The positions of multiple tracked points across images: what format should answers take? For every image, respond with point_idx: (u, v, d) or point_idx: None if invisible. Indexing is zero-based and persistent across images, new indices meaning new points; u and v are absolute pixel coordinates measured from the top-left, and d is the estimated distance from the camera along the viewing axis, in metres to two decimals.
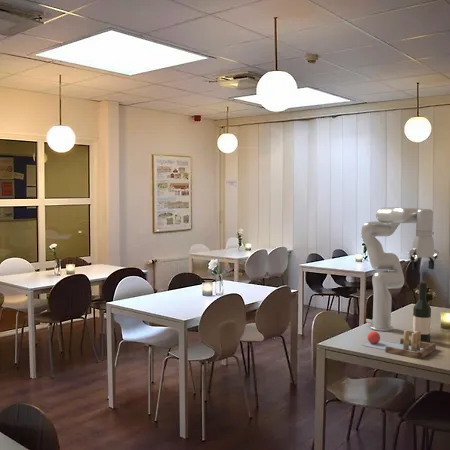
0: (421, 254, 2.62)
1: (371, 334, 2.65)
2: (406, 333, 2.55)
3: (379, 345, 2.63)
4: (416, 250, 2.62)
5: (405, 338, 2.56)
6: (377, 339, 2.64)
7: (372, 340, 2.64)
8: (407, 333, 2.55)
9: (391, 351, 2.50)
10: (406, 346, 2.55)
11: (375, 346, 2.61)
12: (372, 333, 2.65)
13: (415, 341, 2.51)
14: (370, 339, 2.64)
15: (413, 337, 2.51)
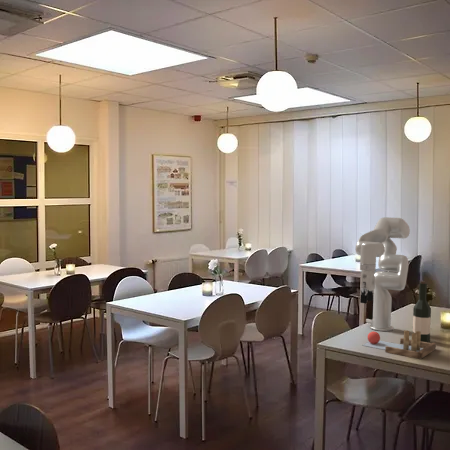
0: None
1: (371, 334, 2.65)
2: (406, 333, 2.55)
3: (379, 345, 2.63)
4: None
5: (405, 338, 2.56)
6: (377, 339, 2.64)
7: (372, 340, 2.64)
8: (407, 333, 2.55)
9: (391, 351, 2.50)
10: (406, 346, 2.55)
11: (375, 346, 2.61)
12: (372, 333, 2.65)
13: (415, 341, 2.51)
14: (370, 339, 2.64)
15: (413, 337, 2.51)
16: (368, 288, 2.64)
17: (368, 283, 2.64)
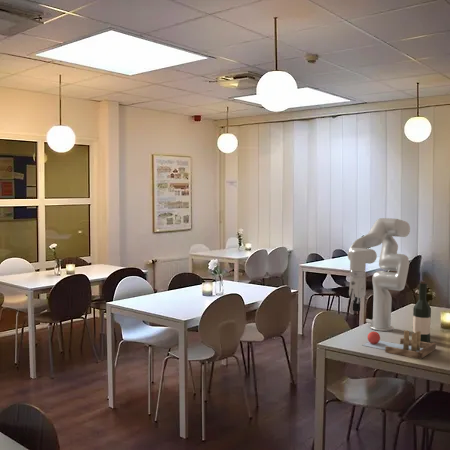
0: None
1: (371, 334, 2.65)
2: (406, 333, 2.55)
3: (379, 345, 2.63)
4: None
5: (405, 338, 2.56)
6: (377, 339, 2.64)
7: (372, 340, 2.64)
8: (407, 333, 2.55)
9: (391, 351, 2.50)
10: (406, 346, 2.55)
11: (375, 346, 2.61)
12: (372, 333, 2.65)
13: (415, 341, 2.51)
14: (370, 339, 2.64)
15: (413, 337, 2.51)
16: (356, 295, 2.66)
17: (356, 290, 2.66)
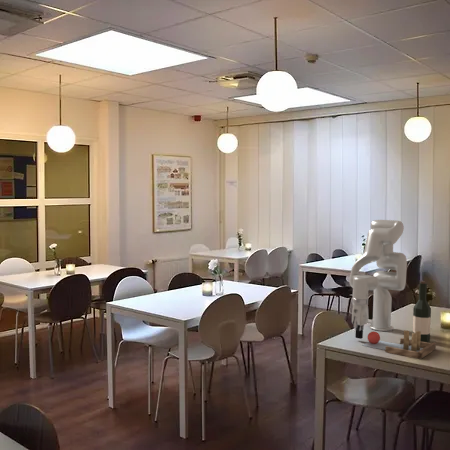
0: None
1: (371, 334, 2.65)
2: (406, 333, 2.55)
3: (379, 345, 2.63)
4: None
5: (405, 338, 2.56)
6: (377, 339, 2.64)
7: (372, 340, 2.64)
8: (407, 333, 2.55)
9: (391, 351, 2.50)
10: (406, 346, 2.55)
11: (375, 346, 2.61)
12: (372, 333, 2.65)
13: (415, 341, 2.51)
14: (370, 339, 2.64)
15: (413, 337, 2.51)
16: (359, 323, 2.65)
17: (359, 318, 2.65)
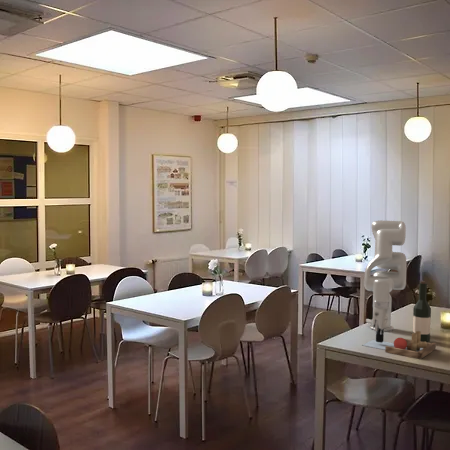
0: None
1: (394, 346, 2.56)
2: (423, 345, 2.51)
3: (379, 345, 2.63)
4: None
5: (418, 345, 2.52)
6: (397, 341, 2.54)
7: (397, 346, 2.53)
8: (423, 346, 2.51)
9: (391, 351, 2.50)
10: None
11: (375, 346, 2.61)
12: (394, 345, 2.56)
13: (415, 341, 2.51)
14: None
15: (413, 337, 2.51)
16: (380, 326, 2.59)
17: (380, 321, 2.59)
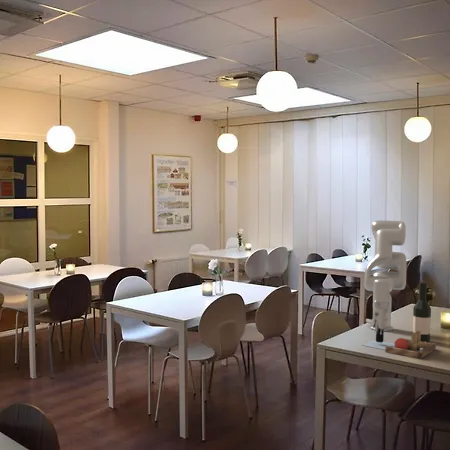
0: None
1: (395, 346, 2.55)
2: (423, 345, 2.51)
3: (379, 345, 2.63)
4: None
5: (418, 345, 2.52)
6: (398, 343, 2.52)
7: None
8: (423, 346, 2.51)
9: (391, 351, 2.50)
10: None
11: (375, 346, 2.61)
12: None
13: (415, 341, 2.51)
14: None
15: (413, 337, 2.51)
16: (380, 326, 2.59)
17: (380, 321, 2.59)
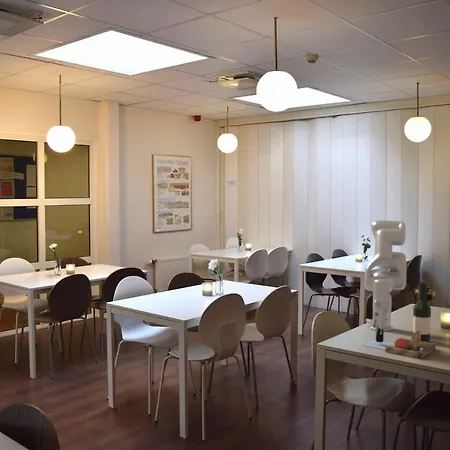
0: None
1: (395, 346, 2.55)
2: (423, 345, 2.51)
3: (379, 345, 2.63)
4: None
5: (418, 345, 2.52)
6: (398, 343, 2.52)
7: None
8: (423, 346, 2.51)
9: (391, 351, 2.50)
10: None
11: (375, 346, 2.61)
12: None
13: (415, 341, 2.51)
14: None
15: (413, 337, 2.51)
16: (380, 326, 2.59)
17: (380, 321, 2.59)
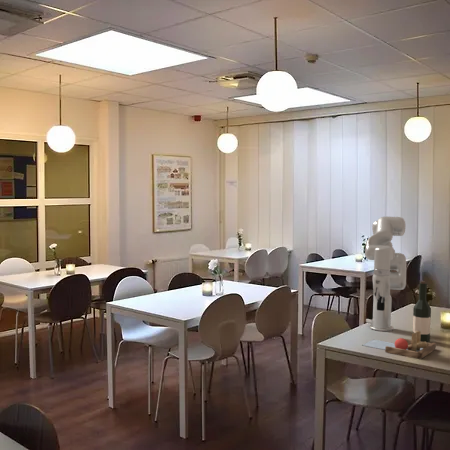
0: None
1: (395, 346, 2.55)
2: (423, 345, 2.51)
3: (379, 345, 2.63)
4: None
5: (418, 345, 2.52)
6: (398, 343, 2.52)
7: None
8: (423, 346, 2.51)
9: (391, 351, 2.50)
10: None
11: (375, 346, 2.61)
12: None
13: (415, 341, 2.51)
14: None
15: (413, 337, 2.51)
16: (381, 294, 2.58)
17: (381, 289, 2.58)
